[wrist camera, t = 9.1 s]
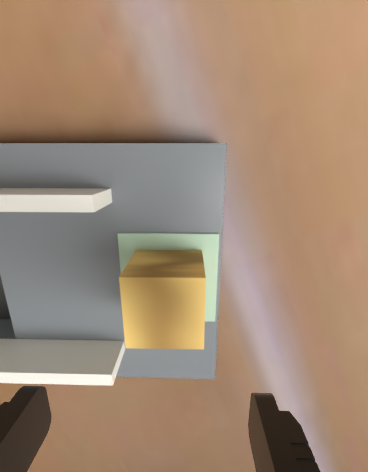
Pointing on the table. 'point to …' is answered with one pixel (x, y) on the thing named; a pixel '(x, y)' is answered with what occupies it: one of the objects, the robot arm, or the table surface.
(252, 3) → the table surface
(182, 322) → the mustard block
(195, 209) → the walled pit deck
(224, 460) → the table surface
